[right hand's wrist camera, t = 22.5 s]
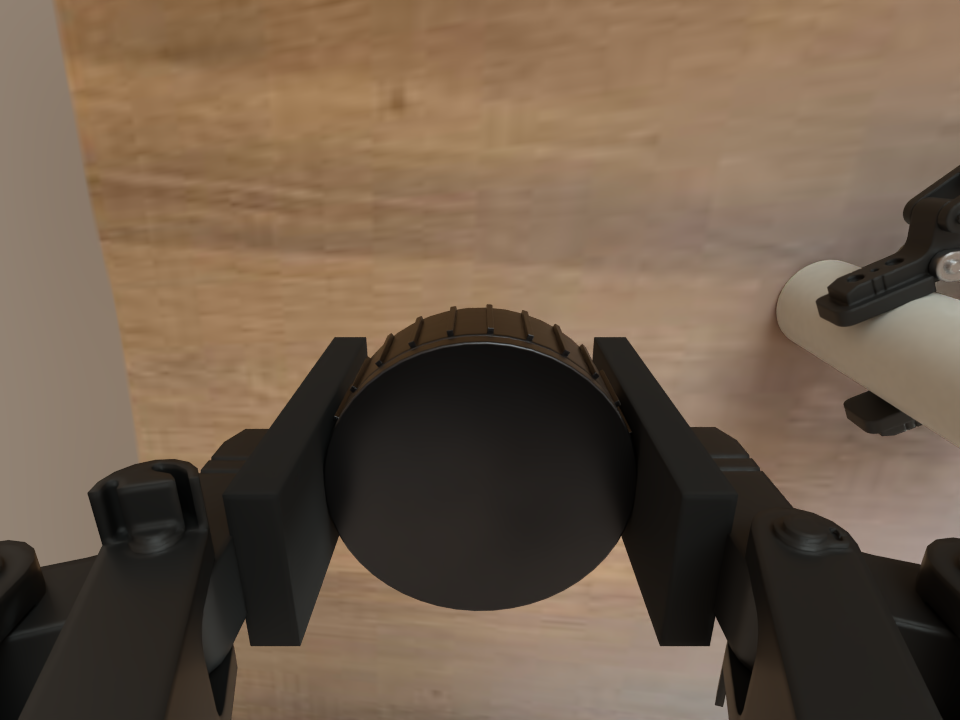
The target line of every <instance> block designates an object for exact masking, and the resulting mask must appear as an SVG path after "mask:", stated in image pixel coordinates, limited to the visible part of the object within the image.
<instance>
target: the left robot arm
mask: <svg viewBox="0 0 960 720" xmlns="http://www.w3.org/2000/svg"><path fill="white" fill-rule="evenodd" d="M903 217H904V220H905V221H906V222H907V223H908V224H910V226H909V232H908V237H907V240H906V243H905V244H904V245H903V246H902V247H901V248H900V249H899V251H898V252H897V253H895V254H893V255H891V256H889V257H886V258H884V259H881V260H879V261H877V262H874V263H872V264H870V265H867V266H865V267H863V268H862V269H858V270H856V271H853V272H852V273H848V274H846V275H844V276H841V277H839V278H837V279H836V280H835V281H834V282H832V283H831V284H830V285H829V286H828V287H827V289H828V294H826V295H824V296H821V297H820V298H818V299H817V300H816V305H817V309H818V313H819V316H820V317H821V318H823V319H825V320H827V321H829V322H831V323H833V324H834V325H836V326H839V327H848V326H853V325H856V324H858V323H861V322H863V321H866V320H868V319H870V318H873V317H875V316H878V315H880V314H883V313H885V312H887V311H890V310H892V309H895V308H897V307H900V306H902V305H904V304H907V303H909V302H911V301H914V300H917V299H919V298H922V297H924V296H926V295H929V294H931V293H934V292H936V287H935V282H937V281H939V280H941V281H945V282H955V281H960V165H959V166H958V167H956V168H955V169H954V170H952V171H951V172H949V173H948V174H947V175H945V176H944V177H942V178H941V179H939V180H938V181H937V182H935V183H934V184H932V185H931V186H929V187H928V188H927V189H925V190H924V191H922V192H921V193H920V194H918V195H917V196H915V197H914V198H912V199H911V200H910V201H909V202H908V203H907V204H906V206H905V208H904V211H903ZM844 408H845V411H846V415H847V418H848V419H849V420H851V421H852V422H853V423H854V424H856V425H857V426H858V427H860V428H861V429H862V430H864V431H865V432H867V433H871V434H877V433H879V434H880V435H881V436H892V435H897V434H899V433H902V432H904V431H906V430H910V429H912V428H915V427H916V426H920V425H922V424H921V423H919V422H918V421H916V420H915V419H913V418H912V417H910V416H908V415H907V414H905V413H904V412H902V411H901V410H899V409H897V408H896V407H894V406H893V405H891V404H890V403H888V402H887V401H885V400H883V399H882V398H880V397H879V396H877V395H876V394H874V393H872V392H871V391H867V392H865V393H862V394H860V395H857V396H855V397H852V398H850V399H848V400H846V401H845V402H844Z"/></svg>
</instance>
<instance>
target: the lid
mask: <svg viewBox="0 0 960 720" xmlns="http://www.w3.org/2000/svg"><path fill="white" fill-rule="evenodd" d="M620 405H621V403H620V401H619V399H618V398H617V396H616V394H615V392H614V390H613V388H612V386H611V384H610V382H609V380H608V378H607V376H606V375H605V373H604V371H603V370H601V371H598V369H597V368H596V366H595V364H594V363H593V361H592V359H591V357H590V355H589V353H588V351H587V349H586V347H585V346H584V345H583V344H582V345H581V346H580V347H579V346H578V345H577V344H576V343H575V342H574V341H573V340H572V339H570V338H569V337H568V336H566V335H565V334H563V333H562V331H561V329H560V326H558V325H557V324H554V326H553V327H552V326H551V325H549V324H547V323H545V322H543V321H541V320H539V319H536V318H533V317H530V316H529V315H528V312H527V311H524V310H522V313H518V312H513V311H509V310H504V309H494V308H492V305H489V304H487V306H486V308H465V309H458V310H457V308H456V306H454V307H451V308H450V311H447V312H443V313H440V314H436V315H433V316H430V317H427V318H425V319H423V318H422V316H420V317H418V318H417V319H416V322H415V323H414V324H412V325H410V326H409V327H407V328H405V329H404V330H402V331H400V332H398V333H397V334H396V335H395V336H394V335H393V334H392V333H391V334H390V335H388V336H387V338H386V340H385V343H384V345H383V346H382V347H381V348H380V349H379V350H378V351H377V352H376V353H375V354H374V355H373V356H372V357H371V358H369V357H368V356H367V357H366V359H365V360H364V362H363V364H362V366H361V368H360V370H359V372H358V374H357V376H356V378H355V380H354V382H353V384H351V385H350V387H349V388H348V390H347V392H346V394H345V396H344V398H343V400H342V402H341V404H340V406H339V408H338V410H337V412H336V414H335V416H334V418H333V421H335V422H336V424H335V426H334V428H333V430H332V433H331V436H330V439H329V442H328V445H327V448H326V454H325V460H324V488H325V496H326V503H327V506H328V509H329V513H330V516H331V519H332V521H333V523H334V525H335V528H336V530H337V532H338V534H339V536H340V537H341V539H342V540H343V542H344V543H345V545H346V546H347V548H348V549H349V551H350V552H351V553H352V554H353V555H354V556H355V558H356V559H357V560H358V561H359V562H360V563H361V564H362V565H363V566H364V567H365V568H366V569H367V570H368V571H370V572H371V573H372V574H373V575H374V576H376V577H377V578H378V579H380V580H381V581H383V582H384V583H386V584H387V585H389V586H390V587H392V588H394V589H396V590H398V591H399V592H401V593H403V594H405V595H408V596H410V597H413V598H415V599H417V600H420V601H423V602H426V603H430V604H433V605H436V606H441V607H446V608H452V609H458V610H470V611H494V610H502V609H510V608H515V607H520V606H524V605H528V604H532V603H535V602H538V601H541V600H544V599H546V598H549V597H551V596H553V595H555V594H557V593H560V592H562V591H564V590H565V589H567V588H569V587H570V586H572V585H574V584H575V583H577V582H579V581H580V580H581V579H583V578H584V577H585V576H586V575H588V574H589V573H590V572H591V571H593V570H594V569H595V568H596V567H597V566H598V565H599V564H600V563H601V562H602V561H603V560H604V559H605V558H606V557H607V555H608V554H609V553H610V552H611V550H612V549H613V548H614V546H615V545H616V544H617V542H618V540H619V539H620V537H621V535H622V533H623V532H624V530H625V528H626V526H627V523H628V521H629V518H630V516H631V513H632V510H633V506H634V500H635V492H636V483H637V458H636V454H635V450H634V445H633V441H632V438H631V437H633V433H632V431H631V429H630V427H629V425H628V423H627V421H626V419H625V417H624V415H623V413H622V411H621V409H620V407H619V406H620Z"/></svg>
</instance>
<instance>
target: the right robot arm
mask: <svg viewBox="0 0 960 720" xmlns="http://www.w3.org/2000/svg"><path fill="white" fill-rule="evenodd" d="M366 357H367V342H366V337H335V338H334V339H333V340H332V342H331V343H330V345H329V346H328V347H327V349H326V350H325V352H324V353H323V354H322V356H321V357H320V359H319V360H318V361H317V363H316V364H315V366H314V367H313V368H312V370H311V371H310V372H309V374H308V375H307V377H306V378H305V379H304V381H303V382H302V384H301V385H300V386H299V388H298V389H297V391H296V392H295V393H294V395H293V396H292V398H291V399H290V400H289V402H288V403H287V405H286V406H285V407H284V409H283V410H282V412H281V413H280V414H279V416H278V417H277V419H276V420H275V421H274V423H273V424H272V426H271V427H270V428H269V429H245V430H243V431H242V432H240V433H238V434H237V435H235V436H233V437H232V438H230V439H228V440H227V441H225V442H224V443H223V444H222V445H221V446H220V448H219V449H218V450H217V451H216V452H215V454H214V455H213V456H212V457H211V460H209V461H208V462H207V463H206V464H205V466H204V467H203V468H202V469H201V473H198V468H196V467H195V466H194V465H192V464H191V463H190V462H186V461H181V460H176V459H165V460H153V461H148V462H143V463H139V464H134V465H132V466H129V467H126V468H124V469H121V470H118V471H116V472H114V473H112V474H110V475H109V476H107V477H105V478H104V479H102V480H100V481H99V482H97V483H96V485H95V486H94V487H93V488H92V489H91V490H90V491H89V492H88V497H89V500H90V503H91V507H92V511H93V514H94V517H95V521H96V524H97V528H98V531H99V535H100V538H101V542H102V547H101V549H100V551H99V553H98V555H96V556H92V557H88V558H83V559H78V560H73V561H68V562H63V563H58V564H53V565H48V566H43V567H40V565H39V562H38V559H37V556H36V553H35V550H34V548H32V547H31V546H30V545H28V544H27V543H25V542H19V541H11V540H6V541H0V720H231V717H232V709H233V701H234V692H235V684H236V676H237V661H236V655H235V650H234V645H233V643H234V641H235V639H236V636H237V634H238V632H239V630H240V628H241V626H242V624H243V622H244V620H245V619H246V624H247V629H248V635H249V640H250V645H251V646H300V645H301V643H302V640H303V637H304V634H305V631H306V628H307V625H308V623H309V620H310V617H311V614H312V611H313V608H314V606H315V603H316V600H317V597H318V594H319V591H320V588H321V586H322V583H323V580H324V577H325V574H326V571H327V569H328V566H329V563H330V560H331V557H332V554H333V551H334V549H335V546H336V543H337V540H338V537H339V534H338V532H337V530H336V528H335V525H334V523H333V521H332V519H331V516H330V513H329V509H328V506H327V503H326V496H325V488H324V460H325V454H326V448H327V445H328V442H329V439H330V436H331V433H332V430H333V428H334V426H335V424H336V422H335V421H333V418H334V416H335V414H336V412H337V410H338V408H339V406H340V404H341V402H342V400H343V398H344V396H345V394H346V392H347V390H348V388H349V387H350V385H351V384H353V382H354V380H355V378H356V376H357V374H358V372H359V370H360V368H361V366H362V364H363V362H364V360H365V359H366ZM593 363H594V364H595V366H596V368H597V369H598V371H601V370H603V371H604V373H605V375H606V376H607V378H608V380H609V382H610V384H611V386H612V388H613V390H614V392H615V394H616V396H617V398H618V399H619V401H620V403H621V405H620V406H619V407H620V409H621V411H622V413H623V415H624V417H625V419H626V421H627V423H628V425H629V427H630V429H631V431H632V433H633V437H631V438H632V441H633V445H634V450H635V454H636V458H637V483H636V492H635V500H634V506H633V510H632V513H631V516H630V518H629V521H628V523H627V526H626V528H625V530H624V532H623V533H622V535H621V536H622V539H623V542H624V545H625V548H626V550H627V553H628V556H629V559H630V562H631V565H632V568H633V570H634V573H635V576H636V579H637V582H638V585H639V587H640V590H641V593H642V596H643V599H644V602H645V605H646V607H647V610H648V613H649V616H650V619H651V622H652V624H653V627H654V630H655V633H656V636H657V639H658V642H659V644H660V646H710V642H711V636H712V631H713V626H714V621H715V616H716V618H717V620H718V622H719V624H720V627H721V629H722V631H723V633H724V635H725V637H726V639H727V645H726V650H725V655H724V660H723V665H722V669H721V674H720V679H719V684H718V689H717V695H716V701H715V705H717V706H721V707H723V704H724V700H725V695H726V699H727V707H728V716H729V720H960V538H945V539H937V540H935V541H934V542H932V543H931V544H930V545H928V546H927V549H926V552H925V554H924V557H923V560H922V563H921V565H920V564H915V563H910V562H905V561H900V560H895V559H890V558H885V557H880V556H875V555H871V554H867V553H863V552H861V550H860V548H859V546H858V544H857V543H856V542H855V541H854V539H853V538H852V537H851V536H850V534H849V533H848V532H847V531H845V530H844V529H843V528H841V527H840V526H838V525H837V524H835V523H834V522H833V521H830V520H828V519H826V518H824V517H821V516H819V515H817V514H814V513H811V512H807V511H803V510H799V509H795V508H793V507H792V506H791V504H790V503H789V502H788V501H787V500H786V498H785V497H784V496H783V495H782V494H781V492H780V491H779V490H778V489H777V488H776V486H775V485H774V484H773V483H772V482H771V481H770V479H769V478H768V477H767V476H766V475H765V473H764V472H763V471H760V467H759V466H758V465H757V464H756V463H755V461H754V460H753V459H752V458H749V454H748V453H747V452H746V451H745V450H744V448H743V447H742V446H741V445H740V444H739V442H738V441H737V440H736V439H734V438H732V437H731V436H729V435H727V434H726V433H724V432H722V431H721V430H719V429H717V428H716V427H690V426H689V425H688V424H687V422H686V421H685V419H684V418H683V417H682V415H681V414H680V412H679V411H678V410H677V408H676V407H675V405H674V404H673V403H672V401H671V400H670V398H669V397H668V396H667V394H666V393H665V391H664V390H663V389H662V387H661V386H660V385H659V383H658V382H657V380H656V379H655V378H654V376H653V375H652V373H651V372H650V371H649V369H648V368H647V366H646V365H645V364H644V362H643V361H642V359H641V358H640V357H639V355H638V354H637V352H636V351H635V350H634V348H633V347H632V345H631V344H630V343H629V341H628V340H627V338H626V337H594V347H593Z"/></svg>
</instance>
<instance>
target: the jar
mask: <svg viewBox="0 0 960 720" xmlns="http://www.w3.org/2000/svg"><path fill="white" fill-rule="evenodd" d="M858 269H862V268H861V267H858V266H855V265H852V264H849V263H846V262H843V261H839V260H823V261H819V262H816V263H813V264H810V265H808V266H806V267H804V268H803V269H801V270H799V271H798V272H797V273H796V274H794V275H793V276H792V277H791V278H790V279H789V281H788V282H787V283H786V285H785V286H784V288H783V289H782V291H781V293H780V296H779V299H778V302H777V309H776V315H777V321H778V324H779V327H780V329H781V331H782V332H783V333H784V335H785V336H786V337H787V338H788V339H790V340H791V341H793V342H794V343H796V344H797V345H799V346H801V347H802V348H804V349H805V350H807V351H808V352H810V353H811V354H813V355H815V356H816V357H818V358H819V359H821V360H822V361H824V362H826V363H827V364H829V365H830V366H832V367H833V368H835V369H837V370H838V371H840V372H841V373H843V374H844V375H846V376H847V377H849V378H851V379H852V380H854V381H855V382H857V383H858V384H860V385H862V386H863V387H865V388H866V389H868V390H869V391H871V392H872V393H874V394H876V395H877V396H879V397H880V398H882V399H883V400H885V401H887V402H888V403H890V404H891V405H893V406H894V407H896V408H897V409H899V410H901V411H902V412H904V413H905V414H907V415H908V416H910V417H912V418H913V419H915V420H916V421H918V422H919V423H921V424H922V425H924V426H926V427H927V428H929V429H930V430H932V431H933V432H935V433H937V434H938V435H940V436H941V437H943V438H944V439H946V440H947V441H949V442H951V443H952V444H954V445H955V446H957V447H958V448H960V300H958V299H955V298H952V297H949V296H946V295H943V294H940V293H937V292H934V293H931V294H929V295H926V296H924V297H922V298H919V299H917V300H914V301H911V302H909V303H907V304H904V305H902V306H900V307H897V308H895V309H892V310H890V311H887V312H885V313H883V314H880V315H878V316H875V317H873V318H870V319H868V320H866V321H863V322H861V323H858V324H856V325H853V326H848V327H839V326H836V325H834V324H833V323H831V322H829V321H827V320H825V319H823V318H821V317H820V316H819V313H818V309H817V305H816V300H817V299H818V298H820V297H821V296H824V295H826V294H828V289H827V287H828V286H829V285H830V284H831V283H832V282H834V281H835V280H836V279H837V278H839V277H841V276H844V275H846V274H848V273H852V272H853V271H856V270H858Z"/></svg>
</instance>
